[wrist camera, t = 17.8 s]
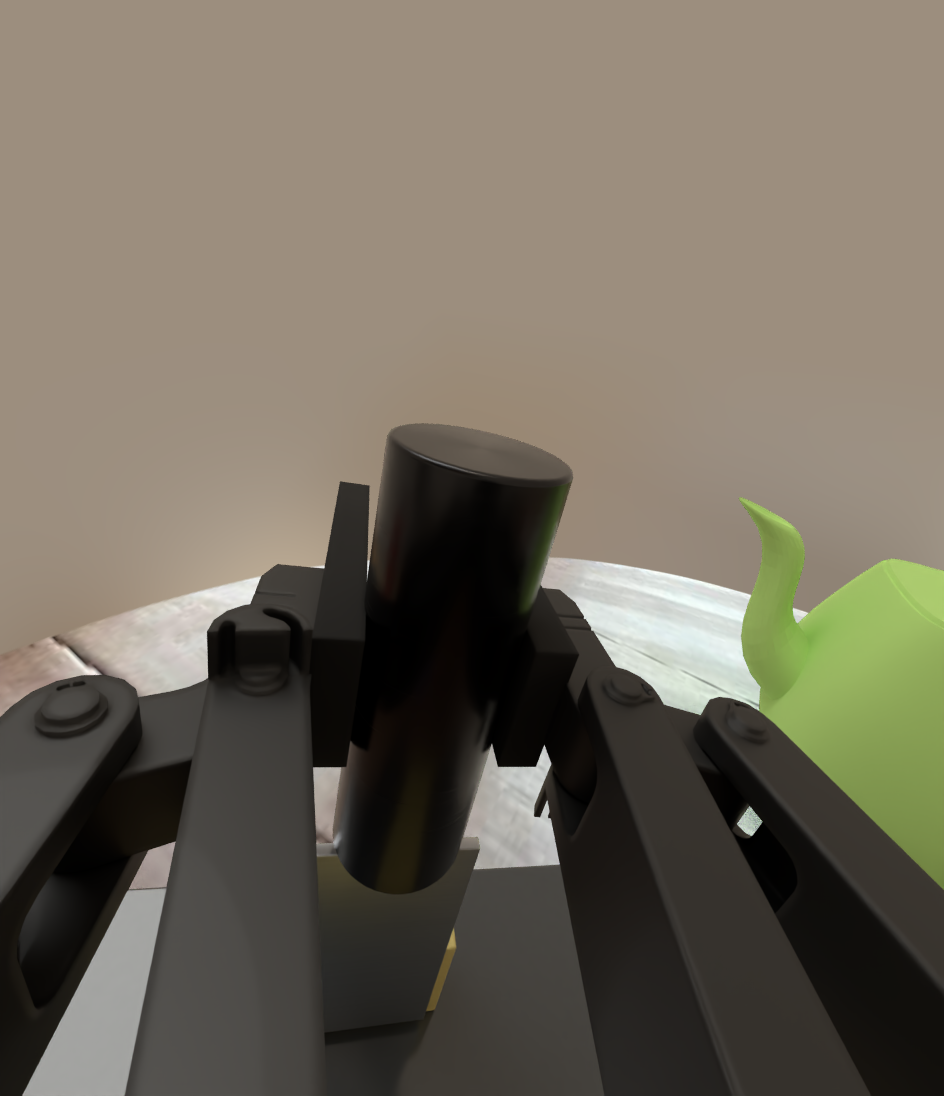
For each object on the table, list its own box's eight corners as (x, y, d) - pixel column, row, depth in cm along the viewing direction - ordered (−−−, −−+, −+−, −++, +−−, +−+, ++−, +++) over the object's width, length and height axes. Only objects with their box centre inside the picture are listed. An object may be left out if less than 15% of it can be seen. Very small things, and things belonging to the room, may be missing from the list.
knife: (273, 1104, 12) (337, 451, 6) (290, 971, 15) (348, 406, 8) (427, 1078, 13) (646, 499, 7) (419, 958, 16) (571, 445, 9)
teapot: (1014, 769, 35) (1200, 583, 28) (1284, 1172, 17) (1959, 928, 11) (669, 620, 44) (748, 451, 37) (612, 783, 26) (744, 517, 20)
